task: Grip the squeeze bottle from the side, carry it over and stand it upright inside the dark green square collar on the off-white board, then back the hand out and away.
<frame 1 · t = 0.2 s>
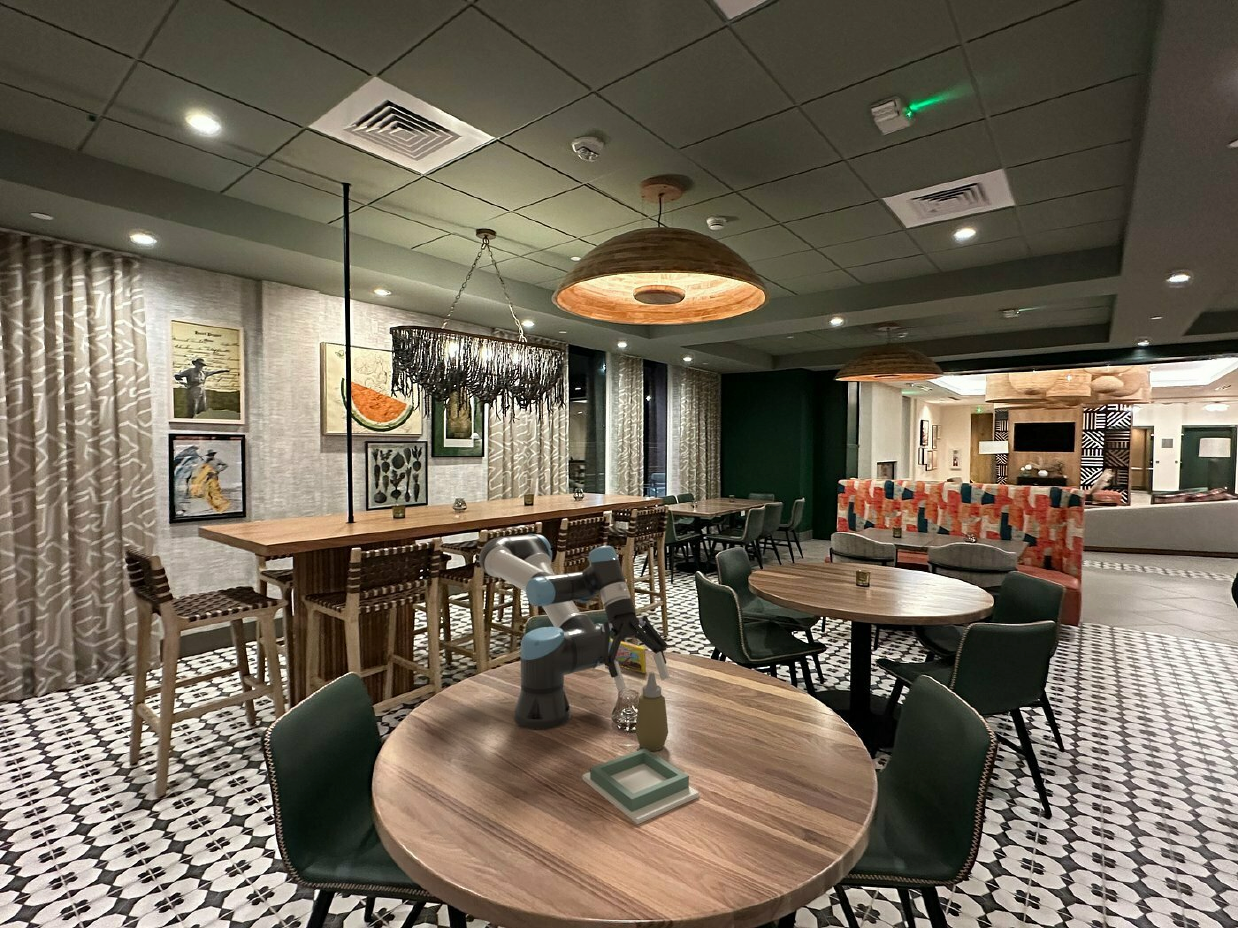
hand: (644, 684, 148), 15 cm above the table, tool tilted 35°, fingers open, 13 cm apart
collar stand: (638, 787, 128), on the table
squeeze bottle: (651, 746, 147), on the table
candy box: (625, 667, 203), on the table
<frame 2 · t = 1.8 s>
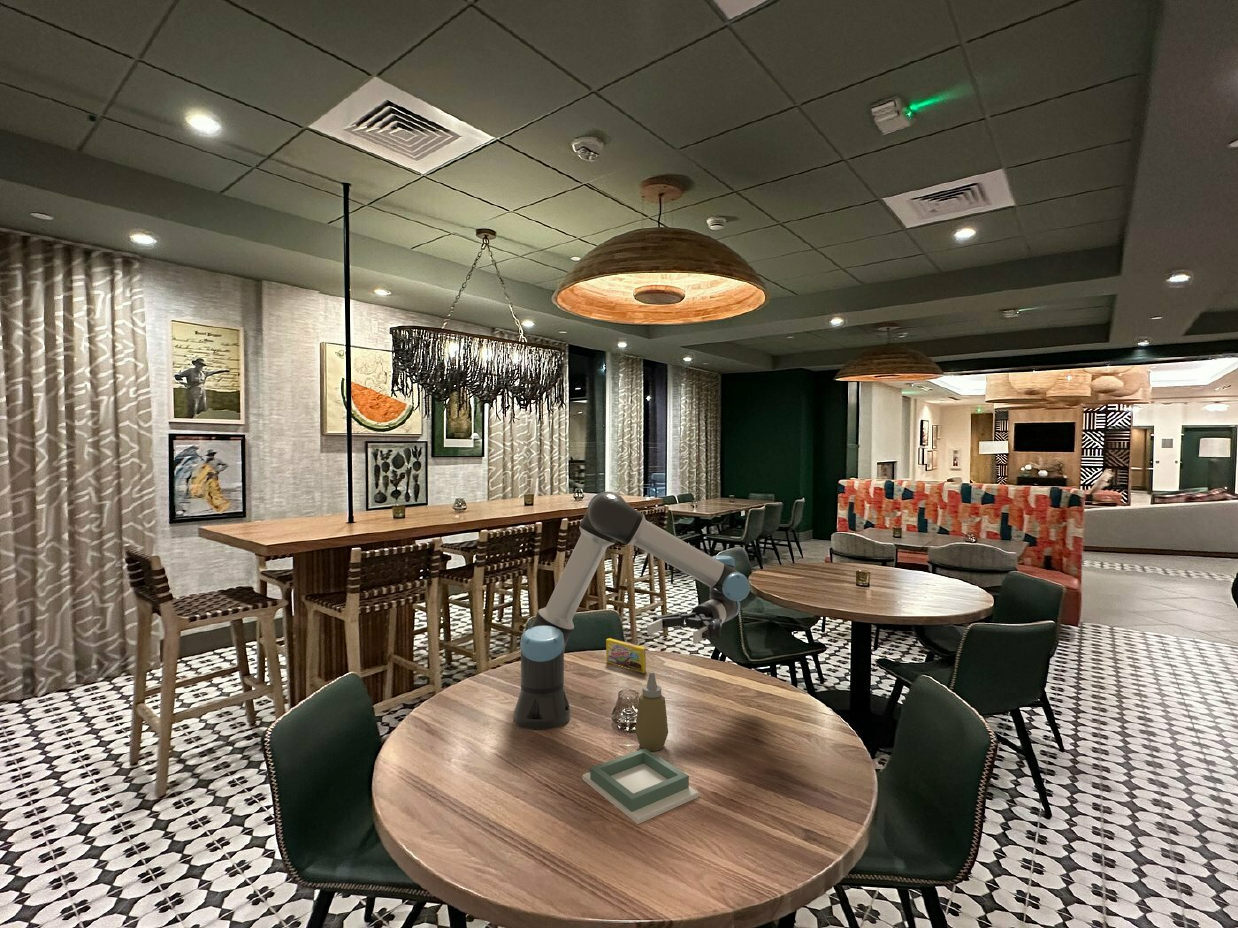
hand: (670, 634, 155), 25 cm above the table, tool horizontal, fingers open, 13 cm apart
nothing on the table moved.
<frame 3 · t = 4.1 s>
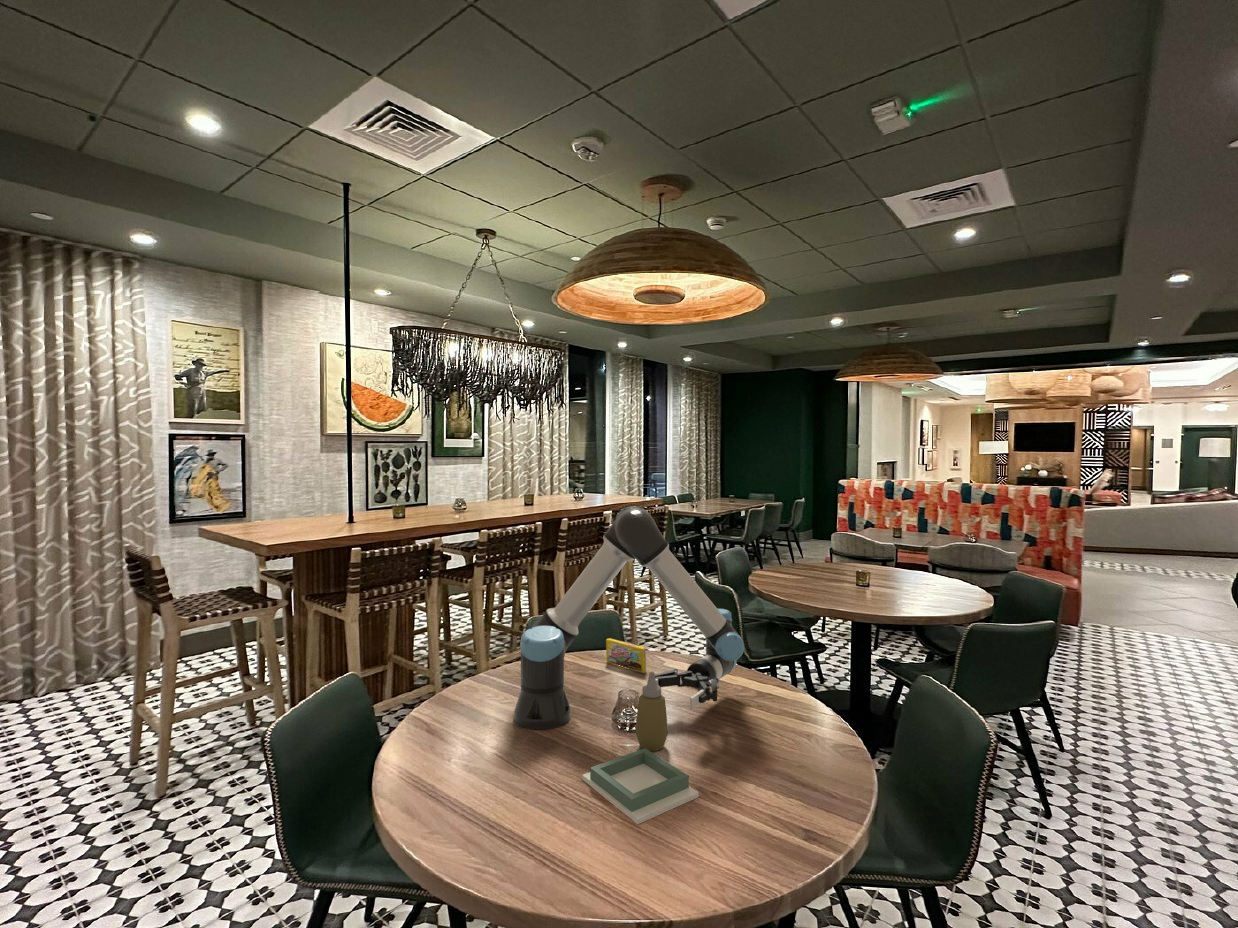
hand: (667, 697, 152), 10 cm above the table, tool horizontal, fingers open, 13 cm apart
nothing on the table moved.
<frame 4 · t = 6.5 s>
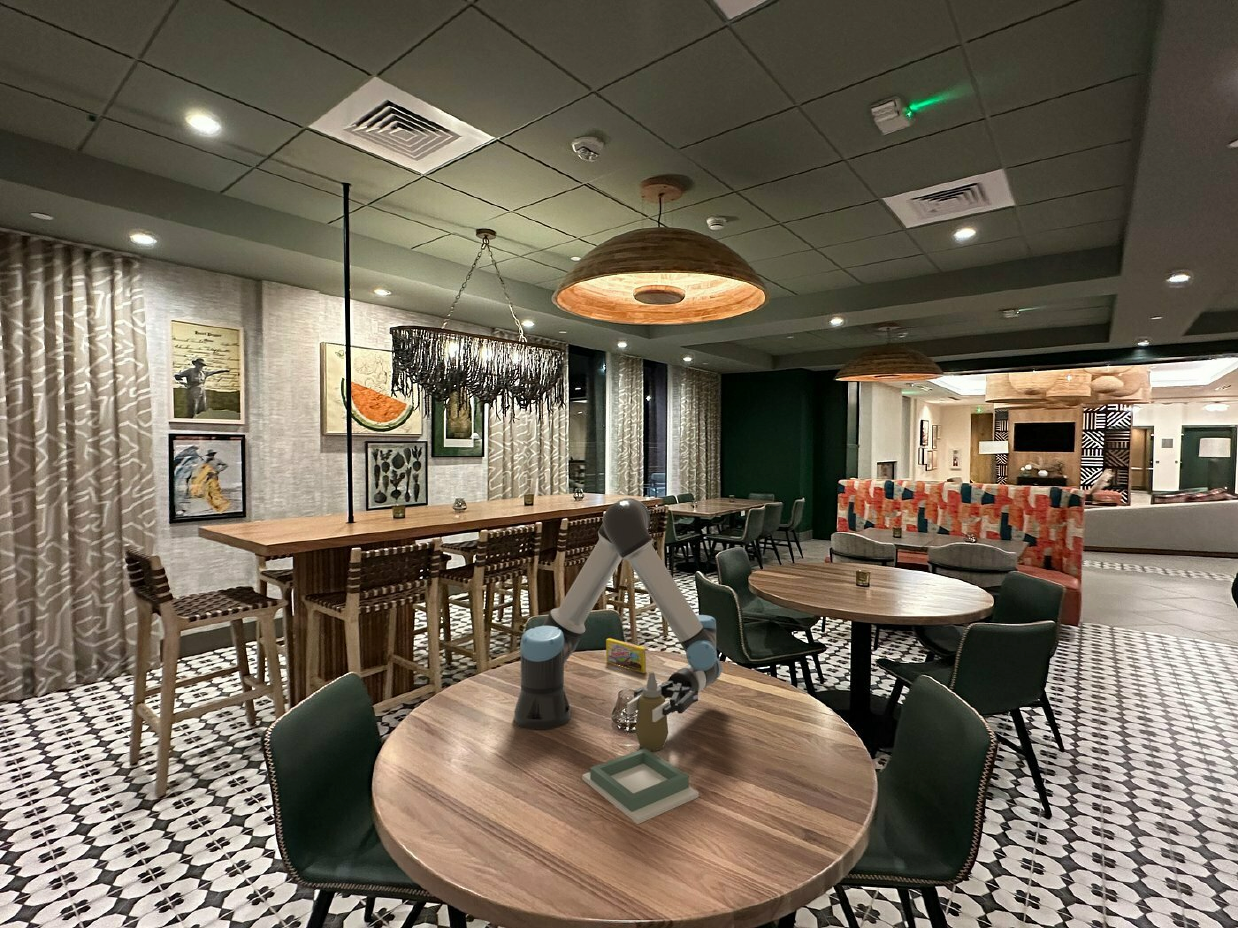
hand: (640, 712, 143), 10 cm above the table, tool horizontal, fingers closed on squeeze bottle, 6 cm apart
squeeze bottle: (651, 746, 147), on the table, touching gripper
everything else where it was.
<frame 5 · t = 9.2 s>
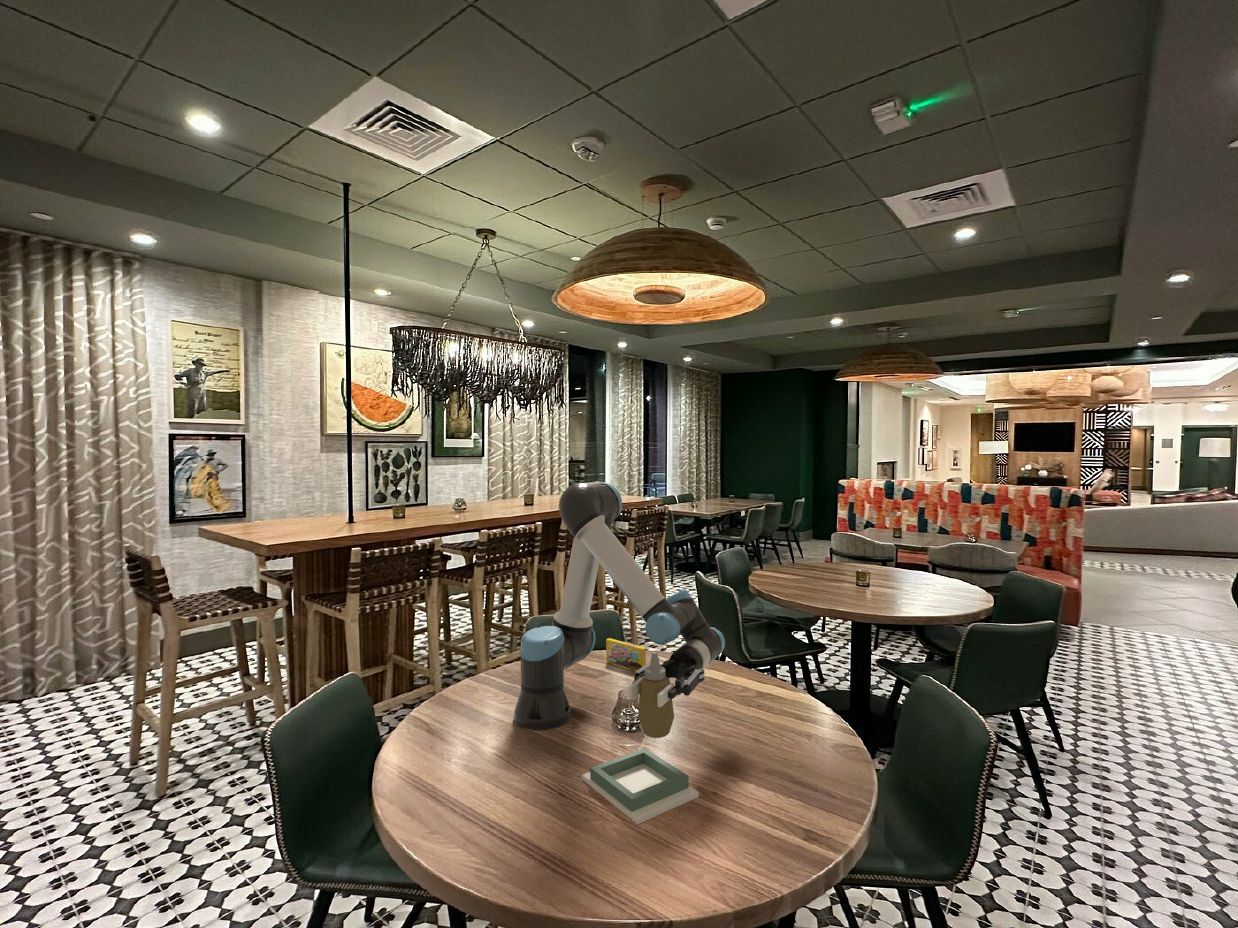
hand: (644, 697, 129), 19 cm above the table, tool horizontal, fingers closed on squeeze bottle, 6 cm apart
squeeze bottle: (656, 732, 134), point 9 cm above the table, touching gripper
everything else where it was.
when the fingers open (13 cm above the table, at t = 11.8 s): squeeze bottle drops 1 cm, resting on collar stand.
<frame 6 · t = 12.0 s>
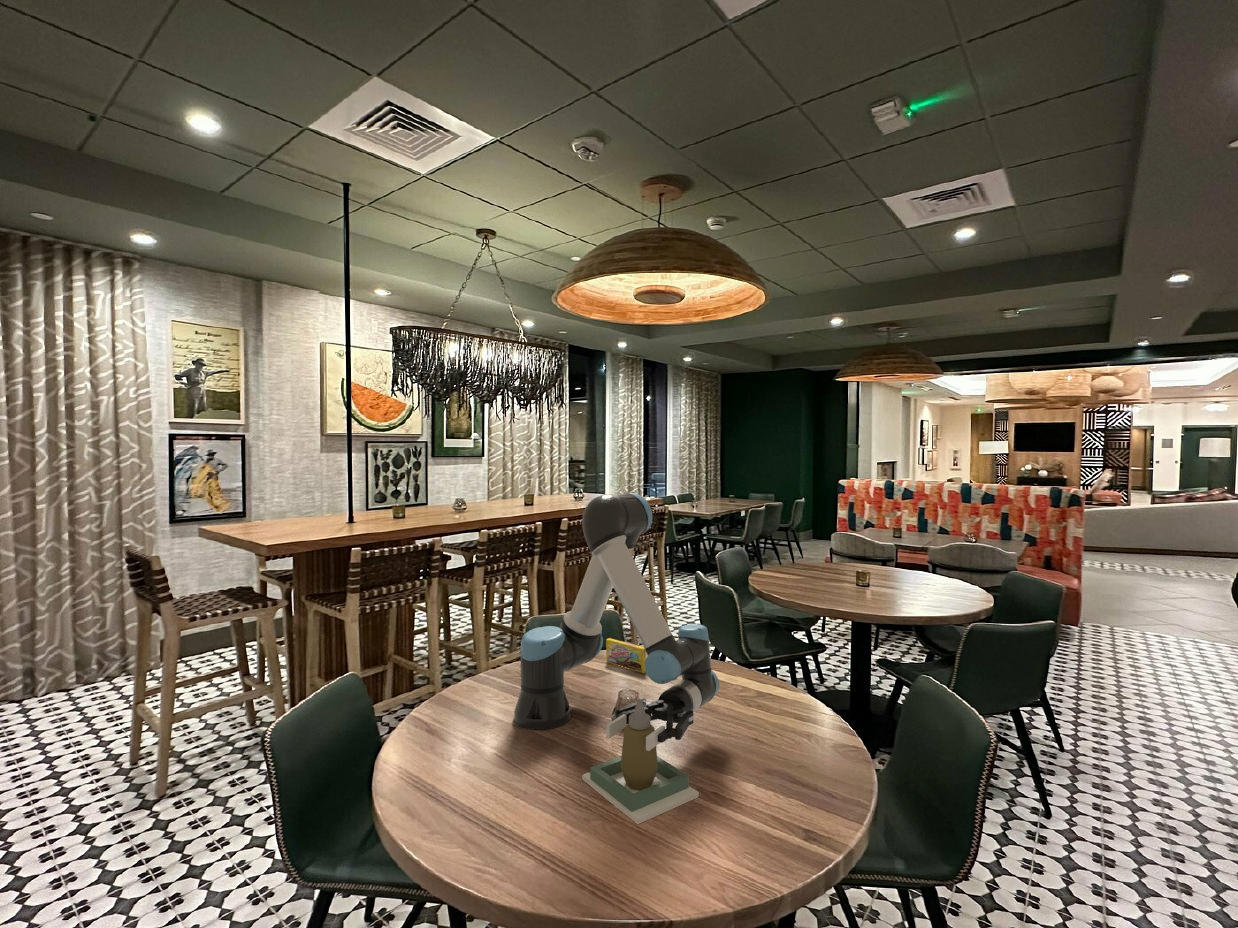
hand: (627, 737, 125), 13 cm above the table, tool horizontal, fingers open, 9 cm apart
squeeze bottle: (639, 783, 129), point 1 cm above the table, touching collar stand
everything else where it was.
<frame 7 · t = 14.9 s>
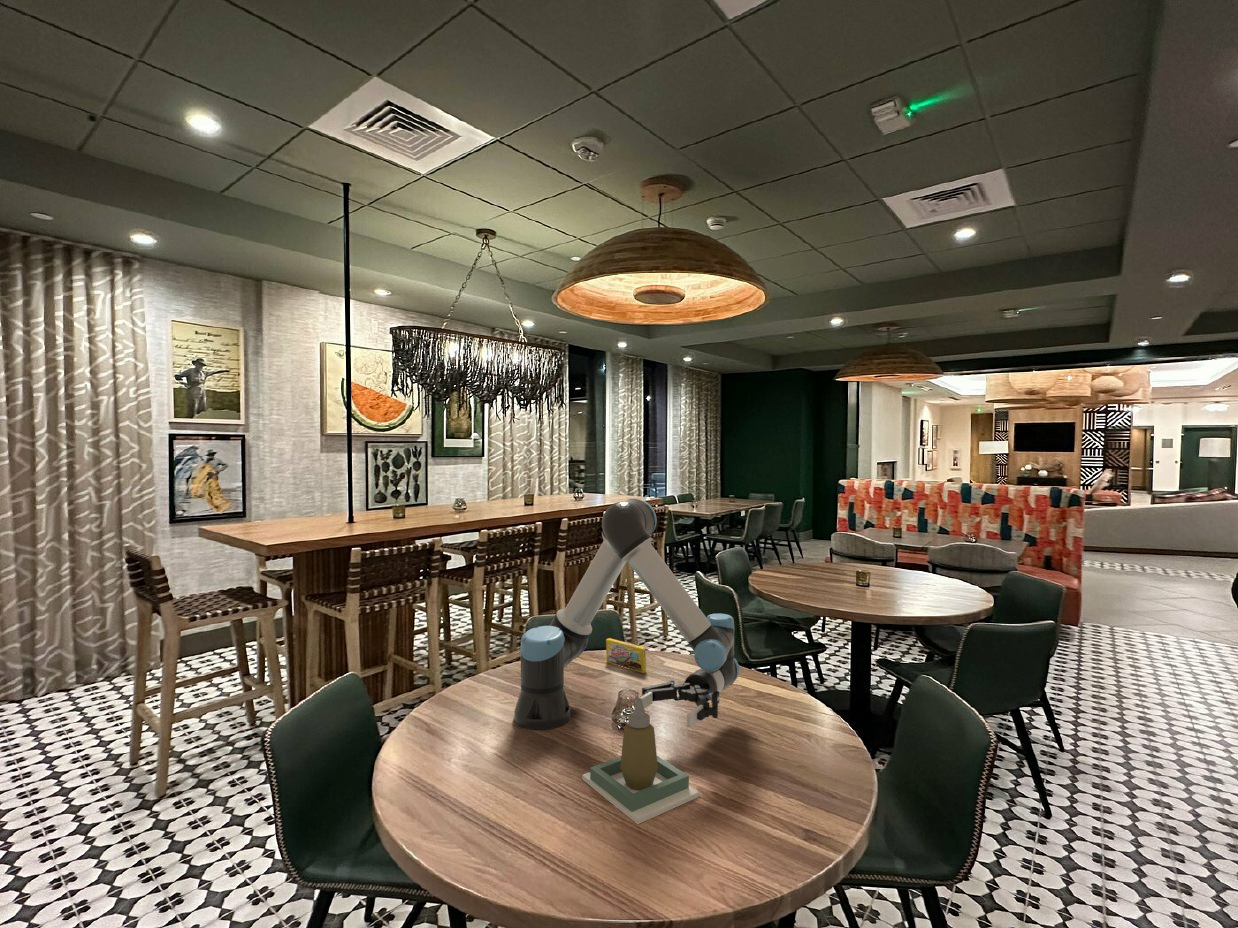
hand: (661, 713, 136), 13 cm above the table, tool horizontal, fingers open, 13 cm apart
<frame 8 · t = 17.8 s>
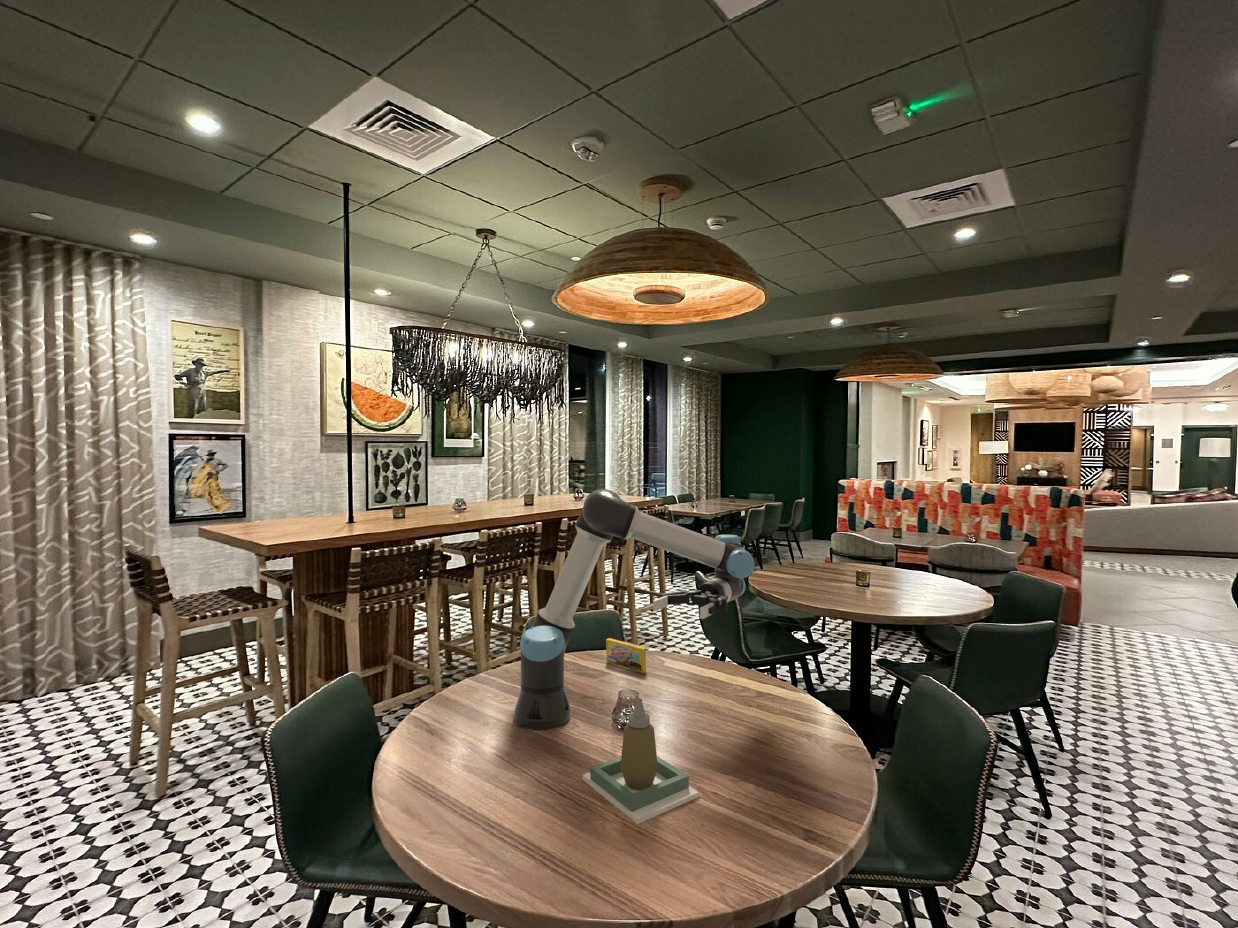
hand: (677, 609, 153), 32 cm above the table, tool horizontal, fingers open, 13 cm apart
nothing on the table moved.
at the end: squeeze bottle inside the target area on the collar stand (0.1 cm from its centre), point 0.8 cm above the collar stand's base; squeeze bottle tilted 0°; the gripper is holding nothing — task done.
